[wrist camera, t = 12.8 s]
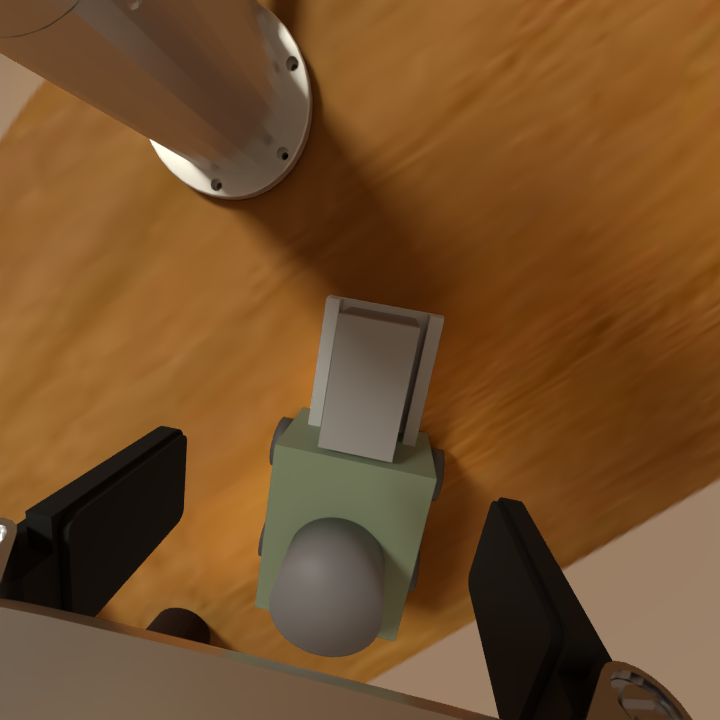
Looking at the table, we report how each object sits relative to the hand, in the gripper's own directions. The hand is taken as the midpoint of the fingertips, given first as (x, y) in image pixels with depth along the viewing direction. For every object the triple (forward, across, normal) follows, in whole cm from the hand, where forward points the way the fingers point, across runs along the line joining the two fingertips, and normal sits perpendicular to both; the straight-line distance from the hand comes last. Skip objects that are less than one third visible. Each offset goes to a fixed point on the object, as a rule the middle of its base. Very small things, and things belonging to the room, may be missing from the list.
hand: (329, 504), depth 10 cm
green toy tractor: (+19, 0, +7) cm, 20 cm away
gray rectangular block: (+18, 0, 0) cm, 18 cm away
